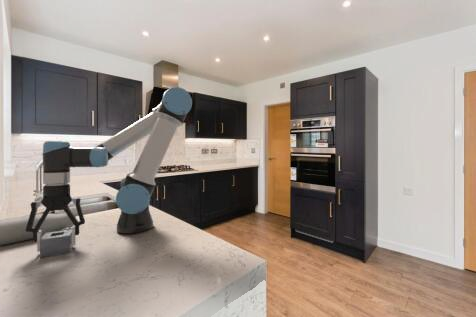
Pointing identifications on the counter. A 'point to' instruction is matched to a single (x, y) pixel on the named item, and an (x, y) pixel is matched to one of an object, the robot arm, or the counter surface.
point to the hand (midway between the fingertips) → (57, 247)
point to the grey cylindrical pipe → (16, 227)
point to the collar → (56, 243)
